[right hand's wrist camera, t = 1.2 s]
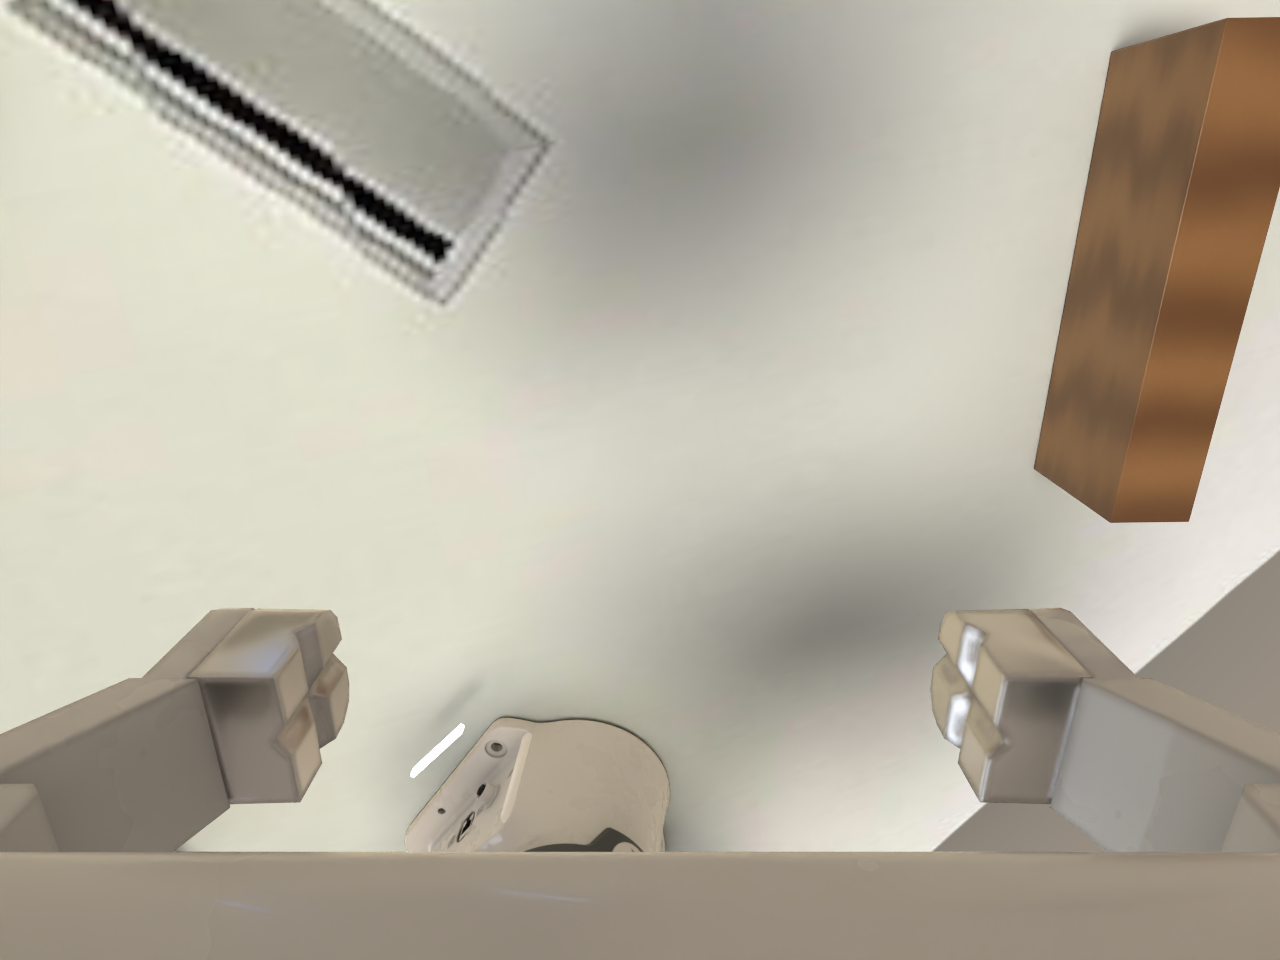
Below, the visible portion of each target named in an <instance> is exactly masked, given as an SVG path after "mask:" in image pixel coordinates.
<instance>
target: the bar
mask: <svg viewBox="0 0 1280 960" xmlns="http://www.w3.org/2000/svg"><path fill="white" fill-rule="evenodd" d="M1279 188H1280V17H1261V18H1225V19H1222V20H1219V21H1215V22H1212V23H1208V24H1205V25H1201V26H1198V27H1195V28H1191V29H1188V30H1184V31H1181V32H1177V33H1174V34H1171V35H1167V36H1164V37H1160V38H1157V39H1153V40H1150V41H1147V42H1143V43H1140V44H1136V45H1133V46H1130V47H1126V48H1123V49H1119V50H1116V51H1113V52H1112V53H1111V59H1110V64H1109V70H1108V75H1107V80H1106V86H1105V91H1104V96H1103V102H1102V107H1101V113H1100V118H1099V123H1098V129H1097V134H1096V139H1095V145H1094V150H1093V156H1092V161H1091V166H1090V172H1089V177H1088V182H1087V188H1086V193H1085V199H1084V204H1083V209H1082V215H1081V220H1080V225H1079V231H1078V236H1077V242H1076V247H1075V252H1074V258H1073V263H1072V268H1071V274H1070V279H1069V285H1068V290H1067V295H1066V301H1065V306H1064V311H1063V317H1062V322H1061V328H1060V333H1059V338H1058V344H1057V349H1056V354H1055V360H1054V365H1053V371H1052V376H1051V381H1050V387H1049V392H1048V397H1047V403H1046V408H1045V413H1044V419H1043V424H1042V430H1041V435H1040V440H1039V446H1038V451H1037V456H1036V462H1035V467H1034V469H1035V470H1036V471H1038V472H1039V473H1041V474H1042V475H1044V476H1045V477H1046V478H1048V479H1049V480H1051V481H1052V482H1053V483H1055V484H1056V485H1058V486H1059V487H1061V488H1062V489H1063V490H1065V491H1066V492H1068V493H1069V494H1070V495H1072V496H1073V497H1075V498H1076V499H1078V500H1079V501H1080V502H1082V503H1083V504H1085V505H1086V506H1087V507H1089V508H1090V509H1092V510H1093V511H1094V512H1096V513H1097V514H1099V515H1100V516H1102V517H1103V518H1104V519H1106V520H1107V521H1109V522H1110V523H1119V522H1188V521H1189V519H1190V515H1191V511H1192V508H1193V504H1194V500H1195V497H1196V493H1197V489H1198V486H1199V482H1200V478H1201V475H1202V471H1203V467H1204V464H1205V460H1206V456H1207V453H1208V449H1209V445H1210V442H1211V438H1212V434H1213V430H1214V427H1215V423H1216V419H1217V416H1218V412H1219V408H1220V405H1221V401H1222V397H1223V394H1224V390H1225V386H1226V383H1227V379H1228V375H1229V372H1230V368H1231V364H1232V361H1233V357H1234V353H1235V350H1236V346H1237V342H1238V339H1239V335H1240V331H1241V327H1242V324H1243V320H1244V316H1245V313H1246V309H1247V305H1248V302H1249V298H1250V294H1251V291H1252V287H1253V283H1254V280H1255V276H1256V272H1257V269H1258V265H1259V261H1260V258H1261V254H1262V250H1263V247H1264V243H1265V239H1266V236H1267V232H1268V228H1269V224H1270V221H1271V217H1272V213H1273V210H1274V206H1275V202H1276V199H1277V195H1278V191H1279Z"/></svg>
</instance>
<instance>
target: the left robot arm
mask: <svg viewBox="0 0 1280 960" xmlns="http://www.w3.org/2000/svg"><path fill="white" fill-rule="evenodd" d="M463 729H464V725H463V724H460V725H459V726H458V727H457V728H456V729H455V730H453V731H452V732H451V733H450V734H449V735H448V736H447V737H446V738H445V739H444V740H443V741H442V742H440V743H439V744H438V745H437V746H436V747H435V748H434V749H433V750H432V751H431V752H430V753H429V754H427V755H426V756H425V757H424V758H423V759H422V760H421V761H420V762H419V763H418V764H417V765H416V766H414V767H413V770H412V772H411V775H410V776H412V777H413V778H414V777H415V776H416V775H417V774H418V773H420V772H421V771H422V770H423V769H424V768H425V767H426V766H427V765H428V764H429V763H430V762H432V761H433V760H434V759H435V758H436V757H437V756H438V755H439V754H440V753H441V752H442V751H444V750H445V749H446V748H447V747H448V746H449V745H450V744H451V743H452V742H453V741H454V740H456V739H457V738H458V737H459V736H460V735H461V734H462V732H463ZM494 743H500V744H501V745H496V744H494ZM669 799H670V786H669V780H668V776H667V773H666V771H665V769H664V766H663V765H662V763H661V761H660V760H659V758H658V757H657V755H656V754H655V753H654V752H653V751H652V750H651V749H650V748H649V747H648V746H647V745H646V744H645V743H644V742H643V741H641V740H640V739H639V738H637V737H636V736H634V735H632V734H631V733H629V732H627V731H625V730H623V729H620V728H618V727H615V726H612V725H609V724H606V723H601V722H596V721H589V720H563V721H555V722H547V723H535V722H531V721H526V720H521V719H515V718H501V719H498V720H496V721H494V722H493V723H492V724H491V726H490V727H489V728H488V729H487V731H486V732H485V733H484V734H483V736H482V737H481V738H480V739H479V740H478V742H477V743H476V744H475V745H474V747H473V748H472V749H471V750H470V752H469V753H468V754H467V755H466V757H465V758H464V759H463V760H462V762H461V763H460V764H459V765H458V766H457V768H456V769H455V770H454V771H453V773H452V774H451V775H450V776H449V778H448V779H447V780H446V781H445V783H444V784H443V785H442V786H441V788H440V789H439V790H438V791H437V792H436V794H435V795H434V796H433V797H432V799H431V800H430V801H429V802H428V804H427V805H426V806H425V807H424V809H423V810H422V811H421V812H420V814H419V815H418V816H417V817H416V819H415V820H414V821H413V822H412V824H411V825H410V826H409V828H408V829H407V831H406V836H405V840H404V842H405V845H406V848H407V851H408V852H665V839H664V834H663V826H664V821H665V816H666V812H667V808H668V804H669Z"/></svg>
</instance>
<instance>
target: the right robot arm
mask: <svg viewBox="0 0 1280 960" xmlns="http://www.w3.org/2000/svg"><path fill="white" fill-rule="evenodd" d="M341 640H342V637H341V632H340V628H339V623H338V618H337V616H336V615H335V614H334V613H333V612H332V611H331V610H298V609H253V608H233V609H217V610H211V611H210V612H209V613H208V614H207V615H206V616H205V617H204V618H203V619H202V620H201V621H200V622H199V623H198V624H197V625H196V626H195V627H194V628H193V629H192V630H191V631H190V632H188V633H187V634H186V635H185V636H184V637H183V638H182V639H181V640H180V641H179V642H178V643H177V644H176V645H175V646H174V647H173V648H172V649H171V650H170V651H169V652H168V653H167V654H166V655H165V656H164V657H163V658H162V659H161V660H160V661H159V662H158V663H157V664H156V665H155V666H154V667H153V668H152V669H150V670H149V671H148V672H147V673H146V674H145V675H144V676H143V677H142V678H129V679H126V680H124V681H122V682H119V683H117V684H115V685H113V686H110V687H108V688H106V689H103V690H101V691H99V692H96V693H94V694H92V695H90V696H87V697H85V698H83V699H80V700H78V701H76V702H74V703H71V704H69V705H67V706H64V707H62V708H60V709H57V710H55V711H53V712H51V713H48V714H46V715H44V716H41V717H39V718H37V719H34V720H32V721H30V722H28V723H25V724H23V725H21V726H18V727H16V728H14V729H11V730H9V731H7V732H5V733H2V734H0V960H1280V734H1277V733H1275V732H1273V731H1271V730H1268V729H1266V728H1264V727H1261V726H1259V725H1257V724H1254V723H1252V722H1250V721H1248V720H1245V719H1243V718H1241V717H1238V716H1236V715H1234V714H1232V713H1229V712H1227V711H1225V710H1222V709H1220V708H1218V707H1216V706H1213V705H1211V704H1209V703H1206V702H1204V701H1202V700H1199V699H1197V698H1195V697H1192V696H1190V695H1188V694H1186V693H1183V692H1181V691H1179V690H1177V689H1174V688H1172V687H1170V686H1167V685H1165V684H1163V683H1161V682H1158V681H1156V680H1154V679H1151V678H1138V677H1137V676H1136V675H1135V674H1134V673H1133V672H1132V671H1131V670H1130V669H1129V668H1128V667H1127V666H1126V665H1124V664H1123V663H1122V662H1121V661H1120V660H1119V659H1118V658H1117V657H1116V656H1115V655H1114V654H1113V653H1112V652H1111V651H1110V650H1109V649H1108V648H1107V647H1106V646H1105V645H1104V644H1103V643H1102V642H1101V641H1100V640H1099V639H1098V638H1097V637H1096V636H1095V635H1094V634H1093V633H1092V632H1091V631H1090V630H1089V629H1088V628H1087V627H1086V626H1085V625H1084V624H1083V623H1081V622H1080V621H1079V620H1078V619H1077V618H1076V617H1075V616H1074V615H1073V614H1072V613H1071V612H1070V611H1067V610H1065V609H1062V608H1044V609H1011V610H971V611H948V612H946V613H945V616H944V618H943V620H942V622H941V626H940V632H939V637H938V640H939V641H940V643H941V644H942V646H943V647H944V649H945V650H946V652H947V654H946V655H945V656H944V657H943V658H942V659H941V660H940V661H939V662H938V663H937V664H936V665H935V666H934V667H933V674H932V682H931V699H932V710H933V713H934V716H935V719H936V723H937V725H938V727H939V729H940V731H941V733H942V735H943V737H944V738H945V739H946V740H948V741H949V742H951V743H952V744H954V745H955V746H957V747H958V748H960V754H959V760H958V764H959V766H960V768H961V769H962V771H963V773H964V775H965V777H966V778H967V780H968V782H969V784H970V785H971V787H972V789H973V791H974V793H975V794H976V796H977V798H978V800H979V801H980V802H990V803H1027V804H1051V805H1050V808H1051V809H1053V810H1054V811H1055V812H1057V813H1058V814H1059V815H1061V816H1062V817H1063V818H1064V819H1066V820H1067V821H1068V822H1070V823H1071V824H1072V825H1073V826H1075V827H1076V828H1077V829H1079V830H1080V831H1081V832H1082V833H1084V834H1085V835H1086V836H1088V837H1089V838H1090V839H1091V840H1093V841H1094V842H1095V843H1097V844H1098V845H1099V846H1100V847H1102V848H1103V849H1104V850H1106V851H1107V852H173V851H175V850H176V849H177V848H179V847H180V846H181V845H182V844H184V843H185V842H186V841H188V840H189V839H190V838H191V837H193V836H194V835H195V834H197V833H198V832H199V831H200V830H202V829H203V828H204V827H206V826H207V825H208V824H210V823H211V822H212V821H213V820H215V819H216V818H217V817H219V816H220V815H221V814H222V813H224V812H225V811H226V810H228V809H229V808H230V805H229V804H253V803H288V802H301V800H302V798H303V796H304V794H305V793H306V791H307V789H308V787H309V786H310V784H311V782H312V780H313V778H314V777H315V775H316V773H317V771H318V769H319V768H320V766H321V764H322V760H321V754H320V748H322V747H323V746H325V745H326V744H328V743H329V742H331V741H332V740H334V739H335V738H336V737H337V735H338V733H339V731H340V729H341V727H342V725H343V723H344V720H345V716H346V711H347V707H348V703H349V680H348V673H347V667H346V666H345V665H344V664H343V663H342V662H341V661H340V660H339V659H338V658H337V657H336V656H335V655H334V654H333V652H334V650H335V649H336V647H337V646H338V644H339V643H340V641H341Z"/></svg>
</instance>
